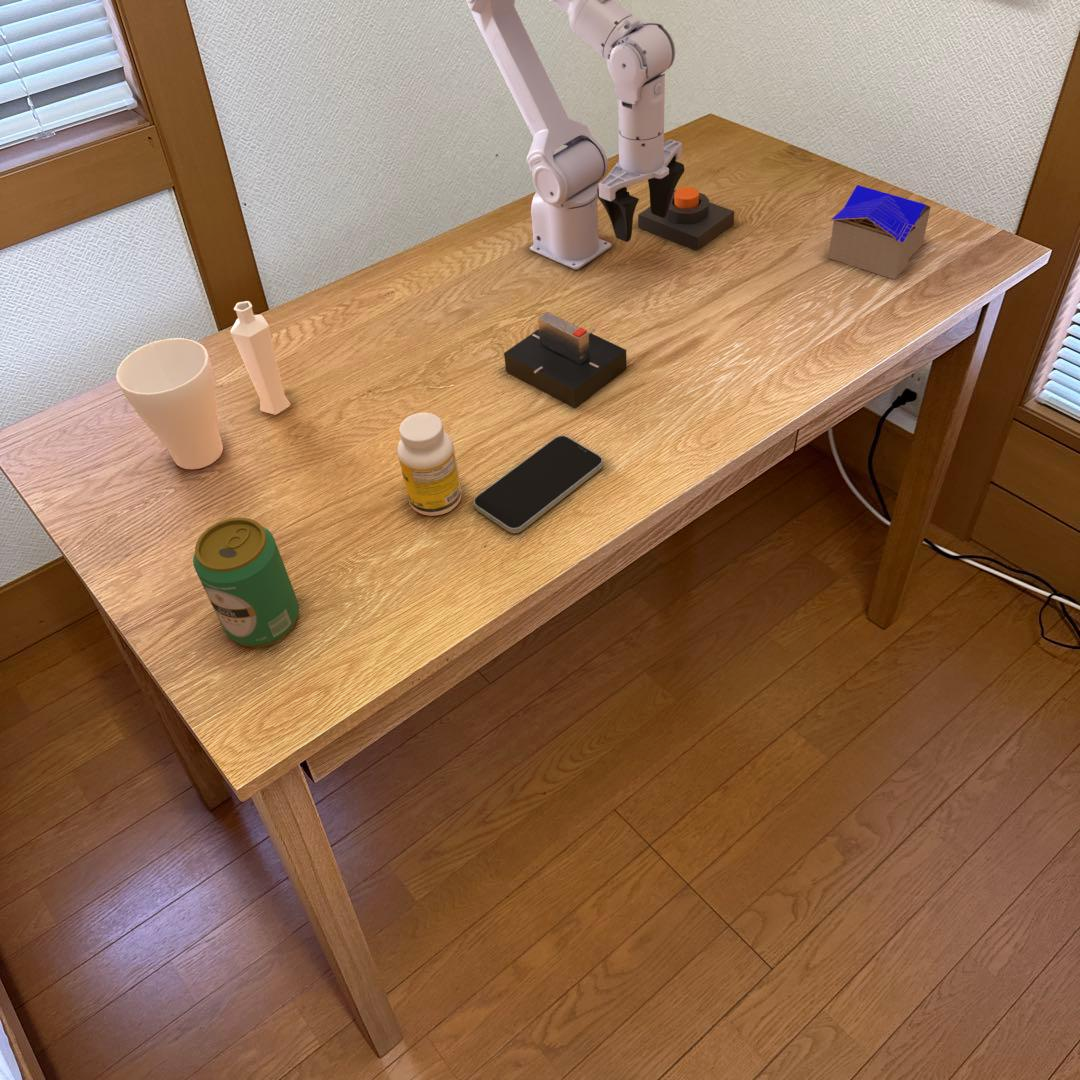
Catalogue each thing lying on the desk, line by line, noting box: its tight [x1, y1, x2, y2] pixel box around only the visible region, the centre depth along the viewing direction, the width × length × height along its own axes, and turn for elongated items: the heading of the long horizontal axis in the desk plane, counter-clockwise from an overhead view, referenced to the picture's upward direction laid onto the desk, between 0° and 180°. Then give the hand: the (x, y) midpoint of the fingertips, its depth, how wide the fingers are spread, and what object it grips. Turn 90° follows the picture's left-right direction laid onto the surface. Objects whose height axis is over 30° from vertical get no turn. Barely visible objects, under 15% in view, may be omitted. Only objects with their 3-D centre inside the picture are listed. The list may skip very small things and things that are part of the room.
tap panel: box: [503, 328, 628, 409], centre depth 134 cm, size 12×11×3 cm
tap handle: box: [537, 311, 590, 365], centre depth 131 cm, size 7×2×4 cm, turn 46°
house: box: [827, 184, 932, 280], centre depth 145 cm, size 10×11×8 cm
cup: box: [115, 337, 224, 470], centre depth 124 cm, size 10×10×14 cm
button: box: [674, 186, 700, 209], centre depth 153 cm, size 4×4×2 cm
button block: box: [637, 189, 735, 251], centre depth 155 cm, size 11×9×4 cm
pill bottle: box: [396, 412, 463, 517], centre depth 116 cm, size 6×6×11 cm
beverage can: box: [192, 517, 300, 648], centre depth 105 cm, size 8×8×12 cm
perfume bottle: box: [229, 300, 292, 416], centre depth 129 cm, size 5×4×15 cm
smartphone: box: [473, 435, 604, 534], centre depth 120 cm, size 7×1×15 cm
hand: (641, 226), depth 142 cm, fingers open, 7 cm apart
